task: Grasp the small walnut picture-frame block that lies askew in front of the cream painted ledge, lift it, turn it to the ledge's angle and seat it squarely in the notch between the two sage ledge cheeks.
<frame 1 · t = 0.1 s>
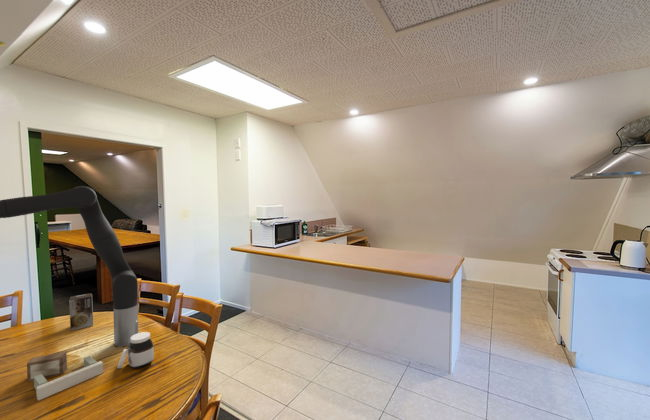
coffee box: (82, 326, 147), on the table
ledge: (72, 384, 102), on the table
spread jar: (134, 365, 114), on the table
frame: (48, 375, 107), on the table
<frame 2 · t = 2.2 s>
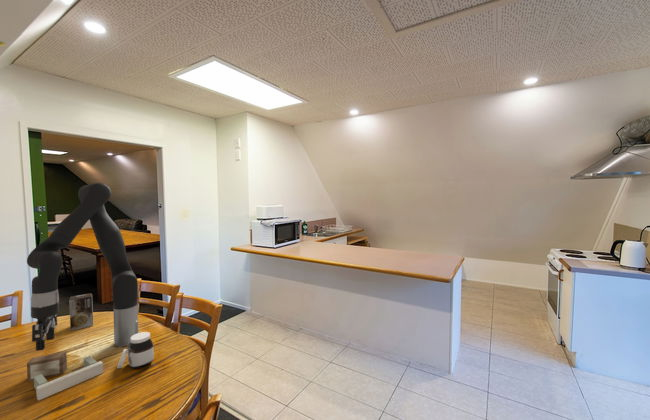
hand: (45, 344, 107), 12 cm above the table, fingers open, 8 cm apart
nothing on the table moved.
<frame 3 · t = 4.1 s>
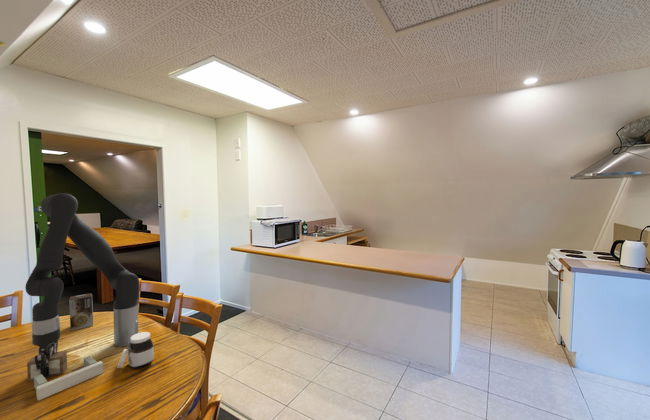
hand: (47, 372, 107), 1 cm above the table, fingers closed on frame, 4 cm apart
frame: (48, 374, 107), on the table, touching gripper
everything else where it was.
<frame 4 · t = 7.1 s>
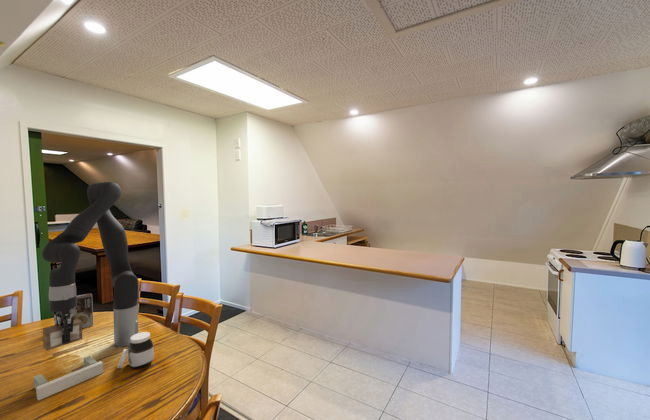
hand: (64, 340, 105), 14 cm above the table, fingers closed on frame, 4 cm apart
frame: (63, 343, 105), point 13 cm above the table, touching gripper
everything else where it was.
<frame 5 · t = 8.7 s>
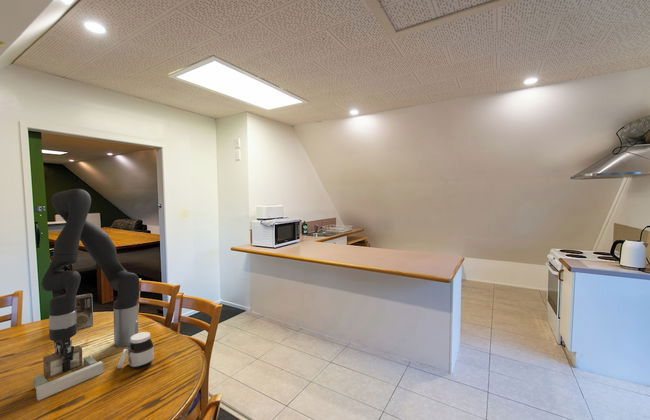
hand: (64, 368, 105), 4 cm above the table, fingers closed on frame, 4 cm apart
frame: (63, 370, 105), point 3 cm above the table, touching gripper
everything else where it was.
when the fingers open (2 cm above the table, at t = 9.9 s): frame drops 1 cm, on the table.
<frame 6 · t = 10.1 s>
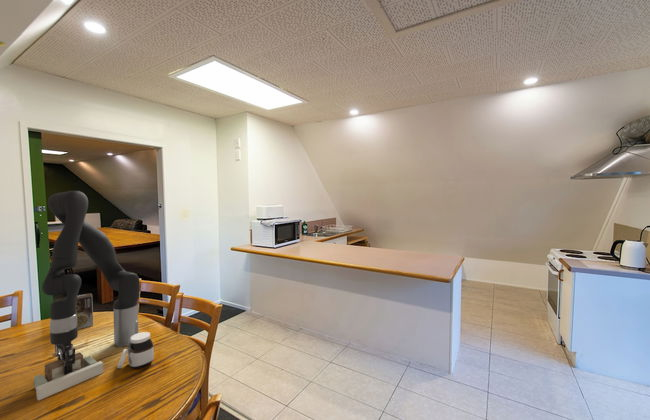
hand: (65, 371, 105), 3 cm above the table, fingers open, 6 cm apart
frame: (65, 377, 106), on the table
everything else where it was.
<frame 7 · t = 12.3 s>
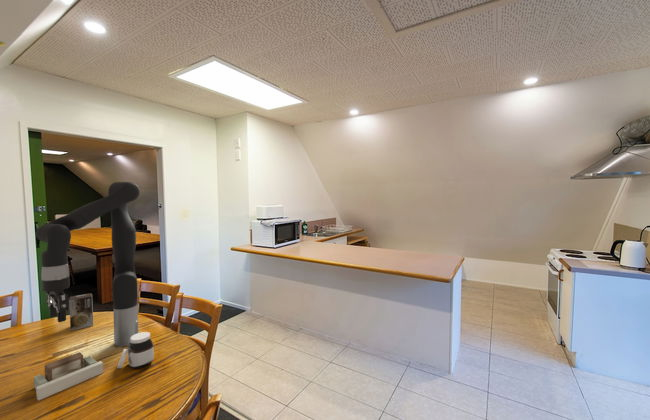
hand: (57, 318, 106), 22 cm above the table, fingers open, 8 cm apart
nothing on the table moved.
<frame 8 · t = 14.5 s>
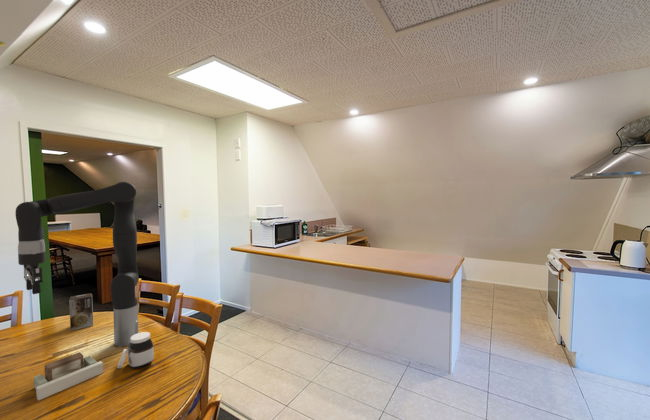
hand: (33, 291, 112), 30 cm above the table, fingers open, 8 cm apart
nothing on the table moved.
at the end: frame 0.2 cm from the target spot, on the table; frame tilted 0°; the gripper is holding nothing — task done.
